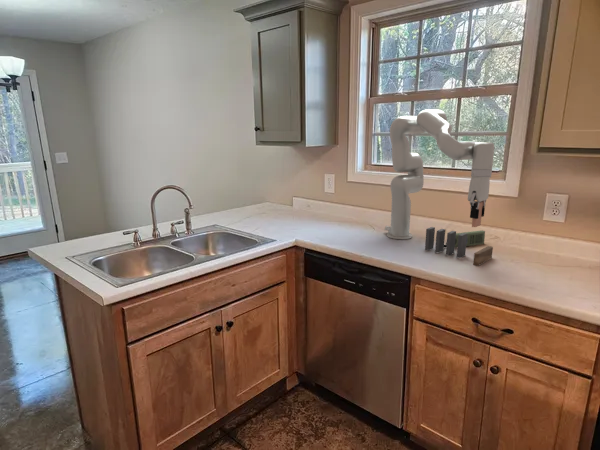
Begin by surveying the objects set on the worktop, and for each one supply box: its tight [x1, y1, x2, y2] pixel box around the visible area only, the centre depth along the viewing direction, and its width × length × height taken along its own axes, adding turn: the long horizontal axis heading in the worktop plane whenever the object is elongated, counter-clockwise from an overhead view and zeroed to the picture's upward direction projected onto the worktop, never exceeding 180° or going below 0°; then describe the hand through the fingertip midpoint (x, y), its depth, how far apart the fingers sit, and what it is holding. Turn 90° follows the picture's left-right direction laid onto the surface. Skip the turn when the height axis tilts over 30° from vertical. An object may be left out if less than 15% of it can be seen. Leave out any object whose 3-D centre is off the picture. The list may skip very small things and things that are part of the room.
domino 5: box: [471, 202, 483, 228], centre depth 162 cm, size 2×5×10 cm, turn 133°
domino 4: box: [456, 232, 467, 259], centre depth 170 cm, size 2×5×10 cm, turn 134°
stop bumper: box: [472, 245, 494, 267], centre depth 164 cm, size 2×14×5 cm, turn 134°
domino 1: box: [424, 226, 436, 251], centre depth 180 cm, size 2×5×10 cm, turn 134°
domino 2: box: [434, 228, 446, 254], centre depth 177 cm, size 2×5×10 cm, turn 134°
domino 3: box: [445, 230, 457, 256], centre depth 173 cm, size 2×5×10 cm, turn 134°
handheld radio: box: [444, 230, 486, 249], centre depth 185 cm, size 7×3×25 cm
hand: (476, 216), depth 163 cm, fingers closed on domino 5, 4 cm apart
